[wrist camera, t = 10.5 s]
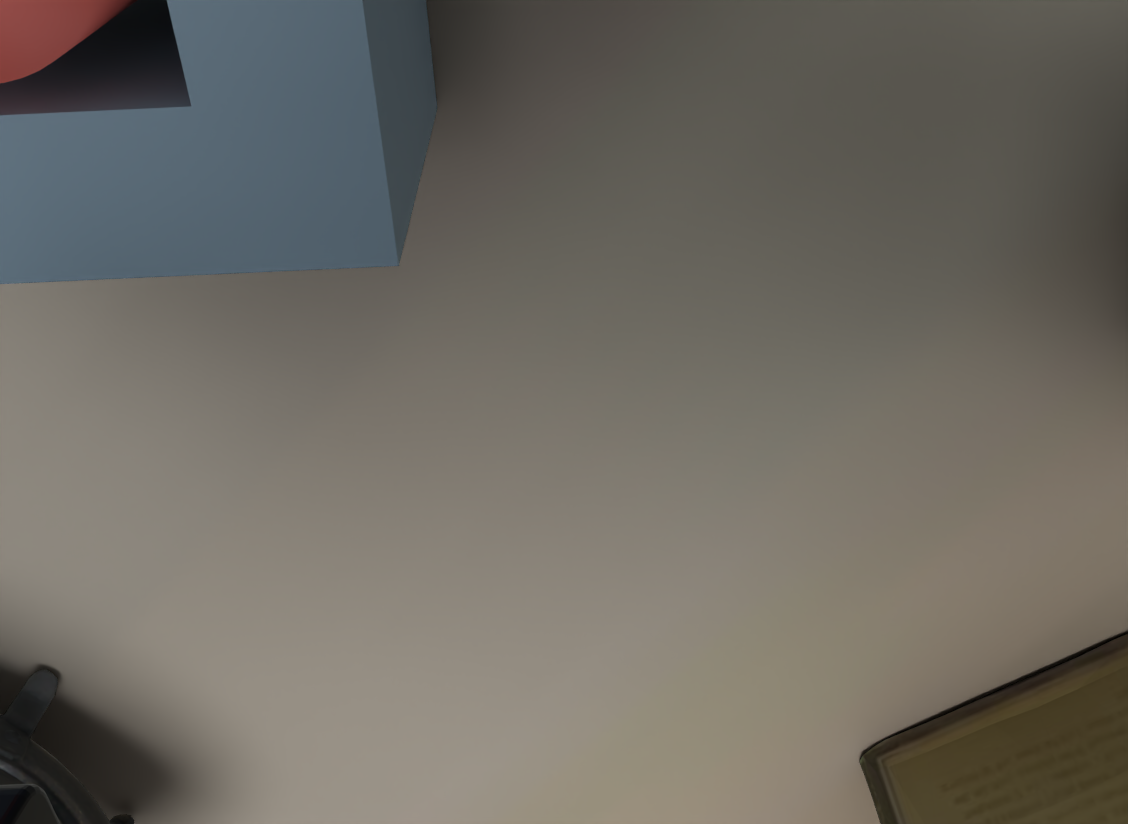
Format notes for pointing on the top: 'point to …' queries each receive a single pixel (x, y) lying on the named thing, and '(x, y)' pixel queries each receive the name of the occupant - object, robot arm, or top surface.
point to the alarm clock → (44, 757)
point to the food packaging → (1017, 753)
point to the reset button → (47, 30)
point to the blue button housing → (219, 141)
